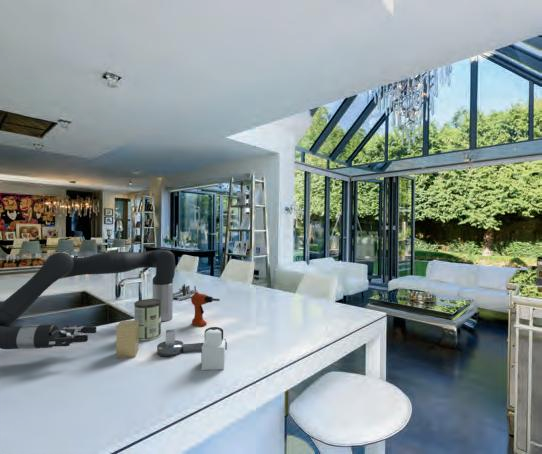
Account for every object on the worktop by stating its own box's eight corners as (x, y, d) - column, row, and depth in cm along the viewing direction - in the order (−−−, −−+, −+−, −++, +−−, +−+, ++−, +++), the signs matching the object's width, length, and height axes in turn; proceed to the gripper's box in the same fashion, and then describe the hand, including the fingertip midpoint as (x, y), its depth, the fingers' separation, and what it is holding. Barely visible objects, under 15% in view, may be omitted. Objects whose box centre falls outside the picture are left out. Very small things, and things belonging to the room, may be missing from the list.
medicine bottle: (204, 360, 105) (204, 325, 105) (225, 360, 105) (225, 324, 105) (201, 370, 98) (201, 332, 98) (223, 369, 98) (224, 332, 98)
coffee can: (146, 330, 133) (146, 297, 133) (166, 333, 130) (166, 300, 130) (128, 338, 123) (128, 303, 123) (149, 342, 120) (149, 306, 120)
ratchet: (155, 358, 106) (155, 336, 106) (158, 347, 115) (158, 327, 115) (227, 352, 112) (227, 331, 112) (225, 342, 120) (225, 323, 120)
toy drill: (217, 329, 131) (214, 294, 132) (189, 325, 142) (187, 293, 143) (225, 326, 134) (222, 292, 135) (198, 323, 146) (195, 291, 147)
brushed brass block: (116, 358, 105) (116, 326, 105) (120, 351, 111) (120, 320, 111) (135, 357, 107) (135, 325, 107) (138, 350, 113) (138, 319, 113)
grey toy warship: (184, 292, 203) (159, 303, 186) (183, 282, 202) (158, 292, 185) (199, 295, 197) (175, 307, 180) (198, 284, 195) (174, 295, 179)
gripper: (26, 332, 96) (84, 329, 99) (48, 318, 110) (98, 316, 113) (26, 356, 96) (84, 353, 99) (48, 340, 110) (98, 337, 113)
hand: (91, 333), depth 106 cm, fingers open, 8 cm apart
